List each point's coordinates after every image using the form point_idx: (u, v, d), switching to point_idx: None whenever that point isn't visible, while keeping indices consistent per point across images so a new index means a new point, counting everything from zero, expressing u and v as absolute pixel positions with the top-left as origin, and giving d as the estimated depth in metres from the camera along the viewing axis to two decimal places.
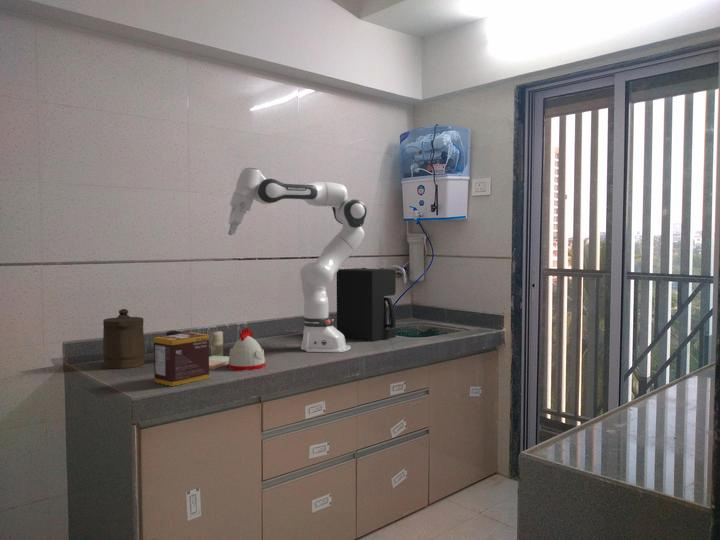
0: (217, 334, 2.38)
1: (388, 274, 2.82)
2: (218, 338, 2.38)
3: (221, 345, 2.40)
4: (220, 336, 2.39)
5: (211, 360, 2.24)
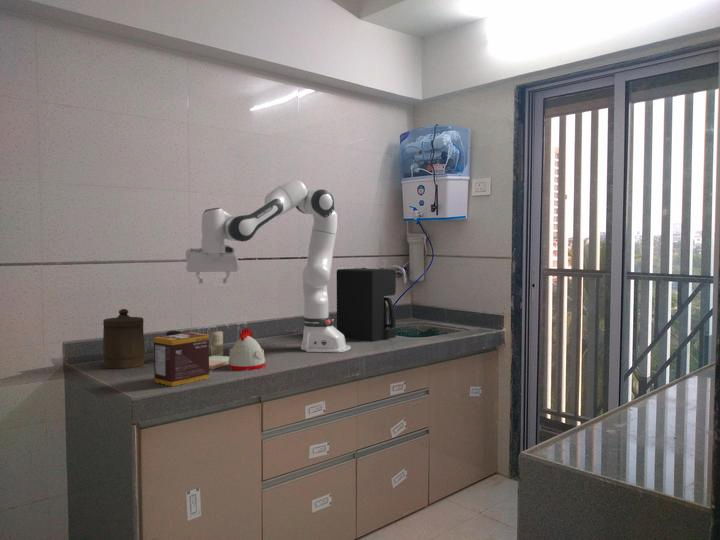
0: (217, 334, 2.38)
1: (388, 274, 2.82)
2: (218, 338, 2.38)
3: (221, 345, 2.40)
4: (220, 336, 2.39)
5: (211, 360, 2.24)
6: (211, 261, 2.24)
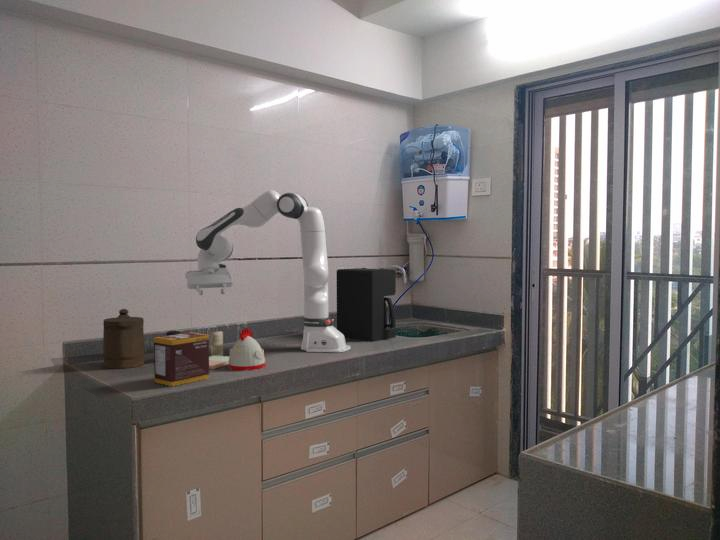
0: (217, 334, 2.38)
1: (388, 274, 2.82)
2: (218, 338, 2.38)
3: (221, 345, 2.40)
4: (220, 336, 2.39)
5: (211, 360, 2.24)
6: (208, 276, 2.54)
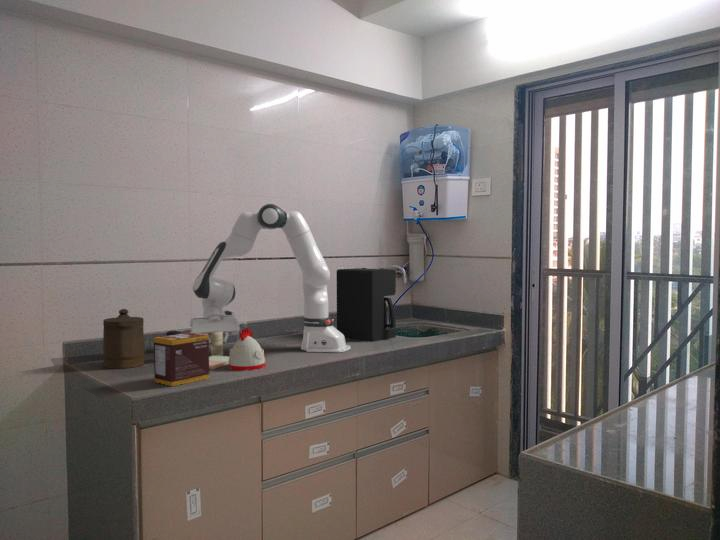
0: (217, 334, 2.38)
1: (388, 274, 2.82)
2: (218, 338, 2.38)
3: (221, 345, 2.40)
4: (220, 336, 2.39)
5: (211, 360, 2.24)
6: (213, 324, 2.44)
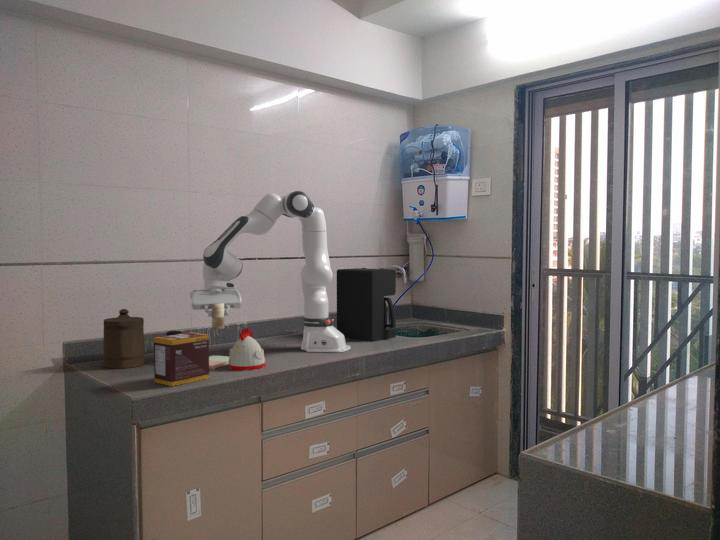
0: (218, 306, 2.29)
1: (388, 274, 2.82)
2: (219, 310, 2.29)
3: (222, 317, 2.30)
4: (221, 308, 2.30)
5: (211, 360, 2.24)
6: (214, 296, 2.35)
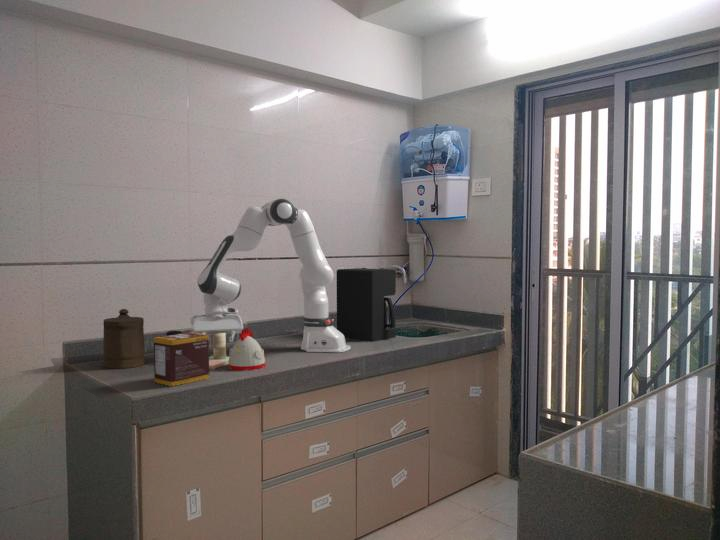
0: (220, 335, 2.26)
1: (388, 274, 2.82)
2: (221, 340, 2.26)
3: (224, 347, 2.27)
4: (223, 338, 2.27)
5: (211, 360, 2.24)
6: (215, 322, 2.32)
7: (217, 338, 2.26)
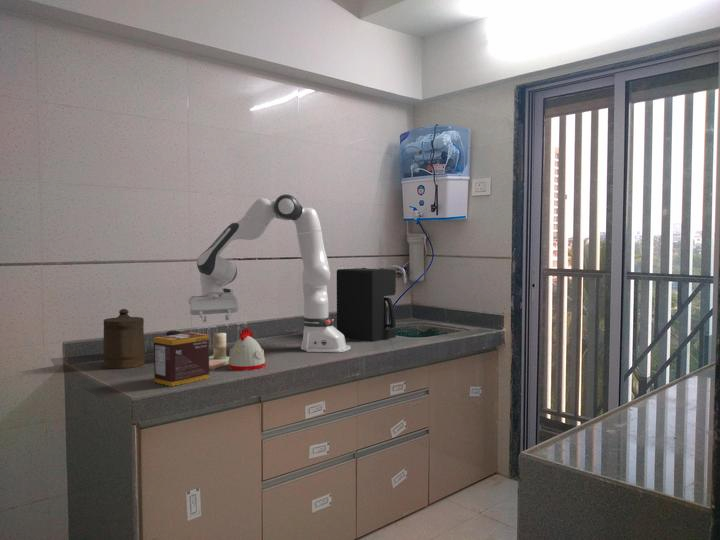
0: (220, 336, 2.26)
1: (388, 274, 2.82)
2: (221, 340, 2.26)
3: (224, 347, 2.27)
4: (223, 338, 2.27)
5: (211, 360, 2.24)
6: (212, 301, 2.44)
7: (217, 338, 2.26)
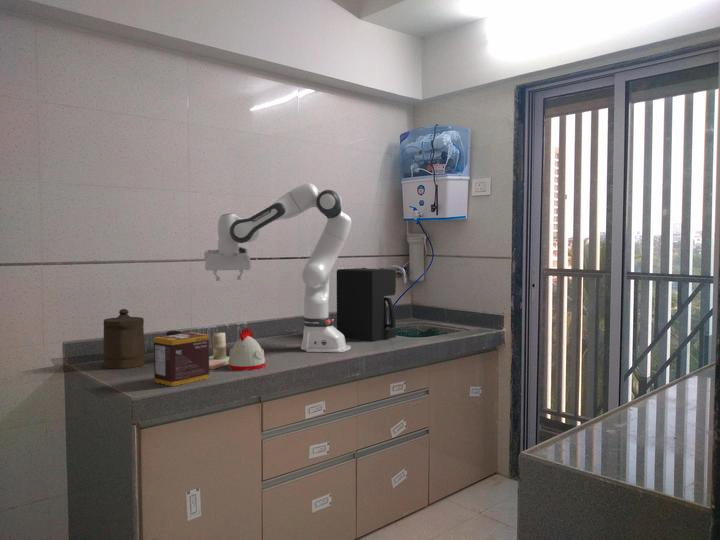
0: (219, 336, 2.25)
1: (388, 274, 2.82)
2: (220, 340, 2.26)
3: (223, 347, 2.27)
4: (222, 338, 2.26)
5: (211, 360, 2.24)
6: (226, 260, 2.54)
7: (216, 338, 2.25)
